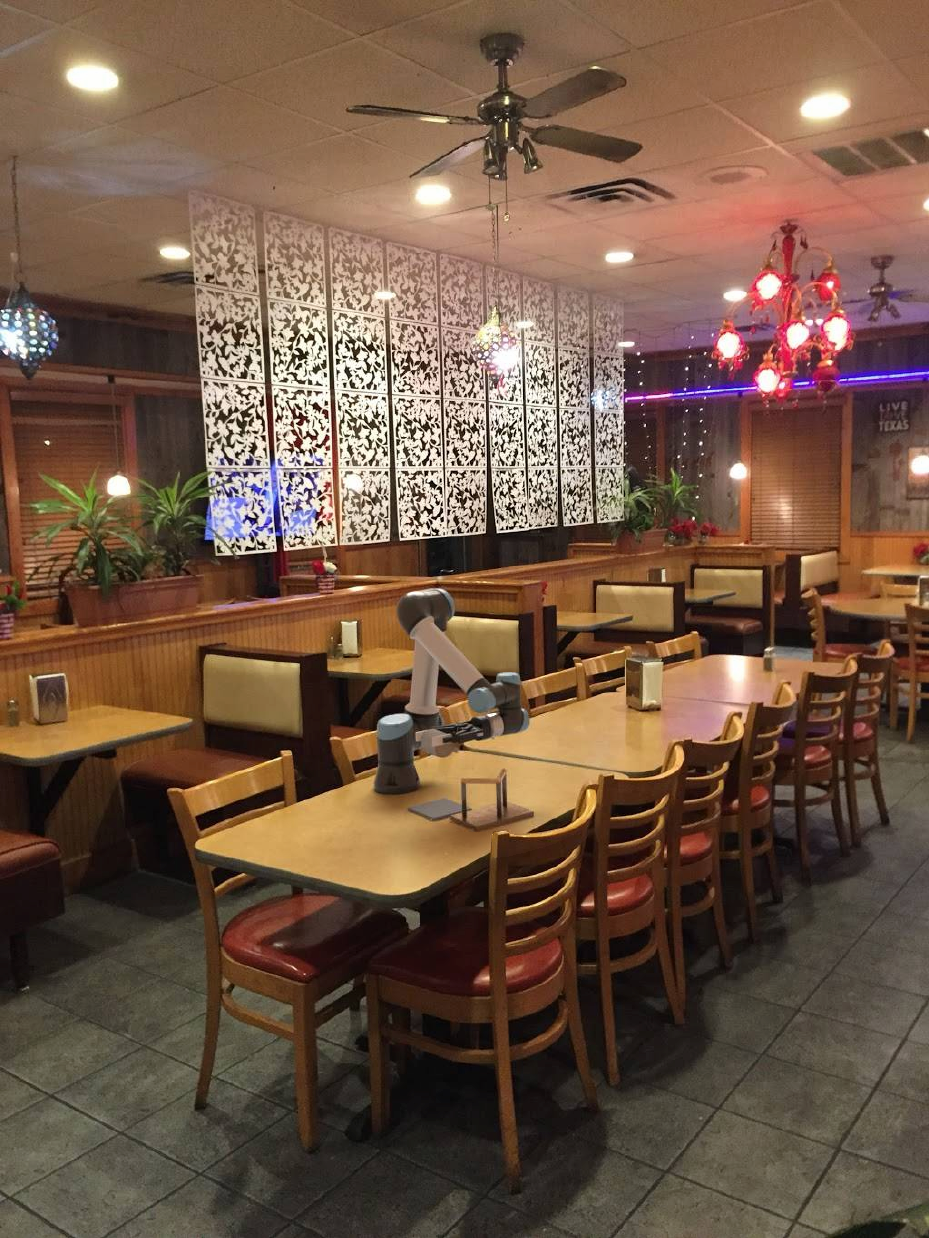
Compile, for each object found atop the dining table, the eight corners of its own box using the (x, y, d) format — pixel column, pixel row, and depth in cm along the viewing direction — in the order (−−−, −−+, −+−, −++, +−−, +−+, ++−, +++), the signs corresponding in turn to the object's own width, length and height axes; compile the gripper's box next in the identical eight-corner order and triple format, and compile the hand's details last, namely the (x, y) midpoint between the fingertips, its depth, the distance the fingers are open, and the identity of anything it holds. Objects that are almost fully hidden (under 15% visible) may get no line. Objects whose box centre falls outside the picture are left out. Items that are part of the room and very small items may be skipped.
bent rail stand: (450, 820, 291) (448, 777, 289) (506, 805, 303) (505, 764, 302) (476, 831, 281) (475, 787, 279) (533, 816, 293) (533, 773, 291)
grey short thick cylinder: (436, 760, 293) (436, 735, 293) (420, 755, 300) (420, 730, 299) (465, 754, 300) (464, 729, 299) (448, 749, 306) (448, 725, 305)
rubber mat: (407, 809, 302) (407, 807, 302) (445, 800, 311) (445, 797, 310) (433, 820, 291) (433, 818, 291) (471, 810, 299) (471, 808, 299)
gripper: (506, 744, 300) (444, 758, 287) (466, 733, 317) (406, 745, 304) (505, 720, 299) (443, 732, 286) (465, 710, 316) (405, 721, 303)
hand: (424, 739), depth 295 cm, fingers closed on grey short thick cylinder, 8 cm apart
